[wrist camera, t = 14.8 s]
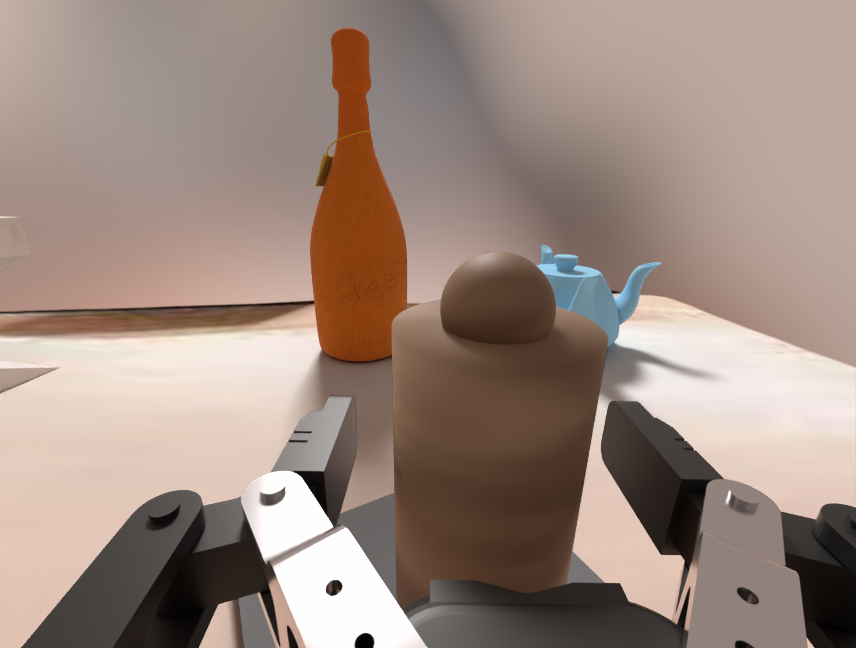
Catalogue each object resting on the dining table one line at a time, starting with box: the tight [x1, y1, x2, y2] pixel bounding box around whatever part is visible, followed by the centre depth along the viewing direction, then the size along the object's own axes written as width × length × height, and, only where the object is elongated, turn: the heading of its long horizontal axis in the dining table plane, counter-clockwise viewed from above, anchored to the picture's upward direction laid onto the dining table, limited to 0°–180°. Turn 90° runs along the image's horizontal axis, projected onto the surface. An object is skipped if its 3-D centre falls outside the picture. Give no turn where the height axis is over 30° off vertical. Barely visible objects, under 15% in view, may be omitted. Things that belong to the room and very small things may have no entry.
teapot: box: [536, 245, 661, 347], centre depth 46 cm, size 15×15×10 cm
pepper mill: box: [392, 252, 608, 608], centre depth 12 cm, size 5×5×15 cm
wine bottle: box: [310, 28, 407, 361], centre depth 40 cm, size 10×10×30 cm
